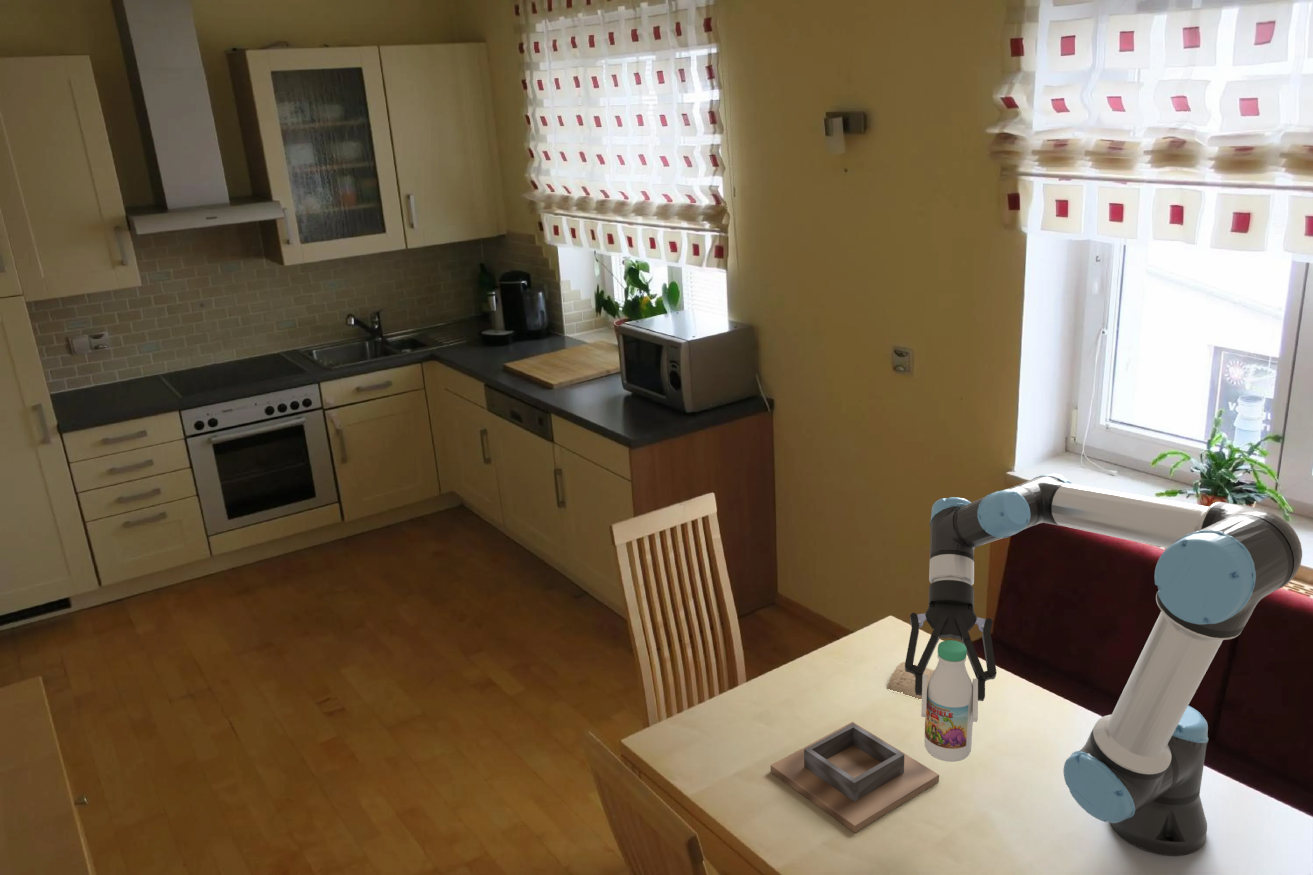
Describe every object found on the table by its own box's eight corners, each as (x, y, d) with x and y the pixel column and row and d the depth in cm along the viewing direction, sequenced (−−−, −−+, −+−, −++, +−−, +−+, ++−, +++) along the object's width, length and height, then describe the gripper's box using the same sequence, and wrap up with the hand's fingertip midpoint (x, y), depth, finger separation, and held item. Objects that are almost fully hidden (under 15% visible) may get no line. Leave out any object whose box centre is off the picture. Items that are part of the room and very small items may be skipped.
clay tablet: (930, 706, 213) (930, 695, 212) (883, 694, 218) (883, 683, 217) (950, 673, 225) (950, 662, 224) (905, 662, 230) (905, 652, 229)
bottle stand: (938, 781, 189) (939, 756, 188) (854, 832, 177) (855, 806, 176) (852, 727, 206) (852, 704, 205) (770, 771, 195) (770, 747, 193)
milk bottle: (936, 730, 179) (940, 629, 173) (978, 745, 175) (984, 642, 168) (916, 752, 174) (920, 649, 167) (959, 768, 169) (965, 663, 163)
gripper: (1010, 595, 179) (1012, 728, 169) (892, 587, 184) (886, 716, 174) (1014, 581, 172) (1016, 718, 162) (891, 574, 177) (885, 706, 168)
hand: (949, 717), depth 168 cm, fingers closed on milk bottle, 7 cm apart
